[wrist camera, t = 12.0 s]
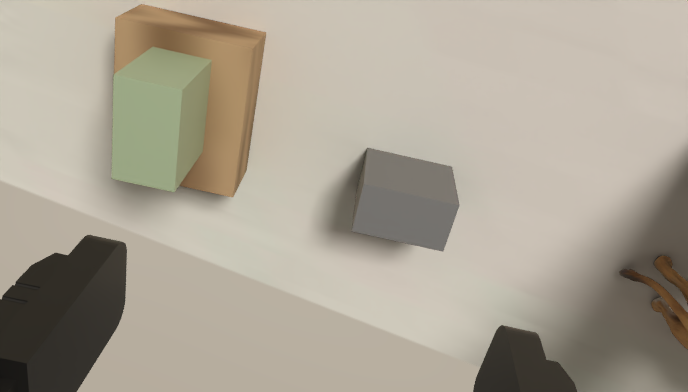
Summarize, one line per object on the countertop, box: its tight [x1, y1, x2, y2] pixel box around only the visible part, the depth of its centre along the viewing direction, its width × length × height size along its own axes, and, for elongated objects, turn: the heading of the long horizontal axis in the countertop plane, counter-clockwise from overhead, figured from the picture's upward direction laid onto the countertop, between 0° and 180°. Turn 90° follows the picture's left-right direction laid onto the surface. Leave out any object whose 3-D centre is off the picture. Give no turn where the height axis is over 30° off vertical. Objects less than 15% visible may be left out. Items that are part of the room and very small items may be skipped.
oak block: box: [114, 4, 266, 197], centre depth 38 cm, size 8×10×4 cm
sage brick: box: [112, 47, 212, 192], centre depth 34 cm, size 6×4×6 cm, turn 168°
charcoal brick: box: [352, 148, 459, 251], centre depth 40 cm, size 6×4×6 cm, turn 78°
